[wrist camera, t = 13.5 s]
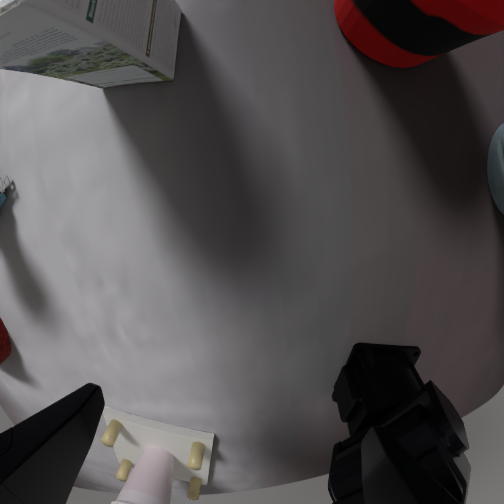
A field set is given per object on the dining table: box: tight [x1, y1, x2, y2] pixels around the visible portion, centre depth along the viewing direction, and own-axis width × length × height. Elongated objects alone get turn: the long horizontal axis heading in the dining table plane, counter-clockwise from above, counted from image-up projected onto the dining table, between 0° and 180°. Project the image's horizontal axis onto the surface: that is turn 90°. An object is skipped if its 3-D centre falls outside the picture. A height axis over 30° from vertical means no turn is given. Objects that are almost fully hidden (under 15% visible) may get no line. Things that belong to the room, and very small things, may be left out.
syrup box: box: [0, 0, 181, 88], centre depth 9 cm, size 6×6×14 cm
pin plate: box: [101, 406, 214, 500], centre depth 27 cm, size 12×12×4 cm
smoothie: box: [111, 446, 175, 504], centre depth 21 cm, size 6×6×14 cm
